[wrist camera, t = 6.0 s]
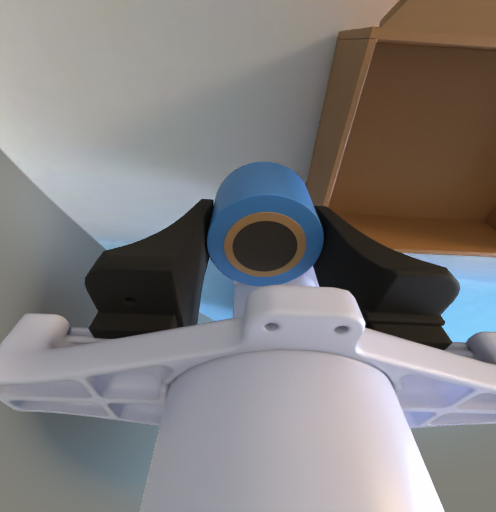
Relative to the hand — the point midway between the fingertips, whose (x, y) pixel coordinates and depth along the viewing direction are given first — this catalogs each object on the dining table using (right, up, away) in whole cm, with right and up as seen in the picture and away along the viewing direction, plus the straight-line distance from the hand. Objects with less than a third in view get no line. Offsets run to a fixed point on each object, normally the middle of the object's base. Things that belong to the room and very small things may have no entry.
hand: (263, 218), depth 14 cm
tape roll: (0, +1, +1) cm, 1 cm away
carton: (+13, +6, +6) cm, 16 cm away
